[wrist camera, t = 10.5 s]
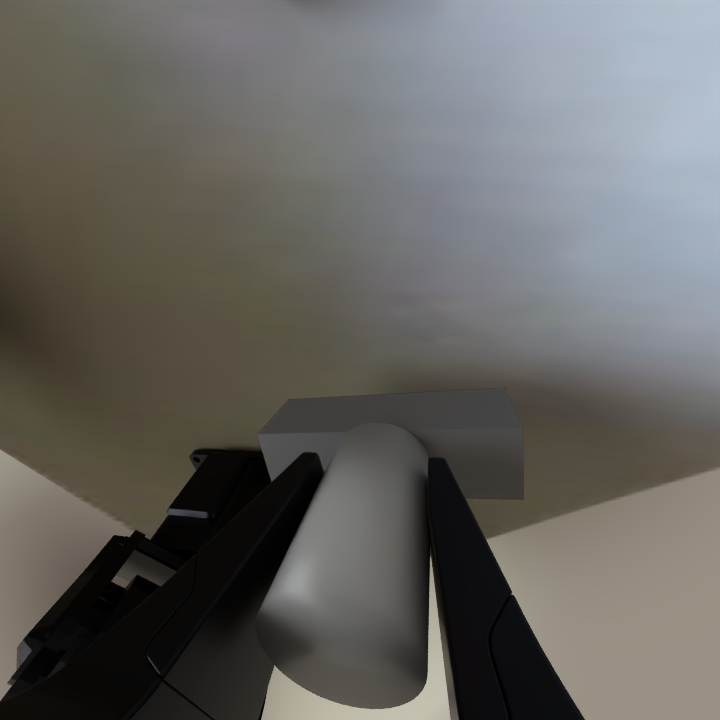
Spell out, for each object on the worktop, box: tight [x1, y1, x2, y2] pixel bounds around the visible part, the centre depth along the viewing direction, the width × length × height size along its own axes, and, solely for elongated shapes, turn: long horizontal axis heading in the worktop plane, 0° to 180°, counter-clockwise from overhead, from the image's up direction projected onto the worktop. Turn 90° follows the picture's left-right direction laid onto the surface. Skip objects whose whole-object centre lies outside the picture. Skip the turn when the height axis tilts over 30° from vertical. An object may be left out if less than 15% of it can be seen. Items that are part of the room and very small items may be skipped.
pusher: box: [256, 388, 524, 709], centre depth 9 cm, size 3×8×8 cm, turn 102°
